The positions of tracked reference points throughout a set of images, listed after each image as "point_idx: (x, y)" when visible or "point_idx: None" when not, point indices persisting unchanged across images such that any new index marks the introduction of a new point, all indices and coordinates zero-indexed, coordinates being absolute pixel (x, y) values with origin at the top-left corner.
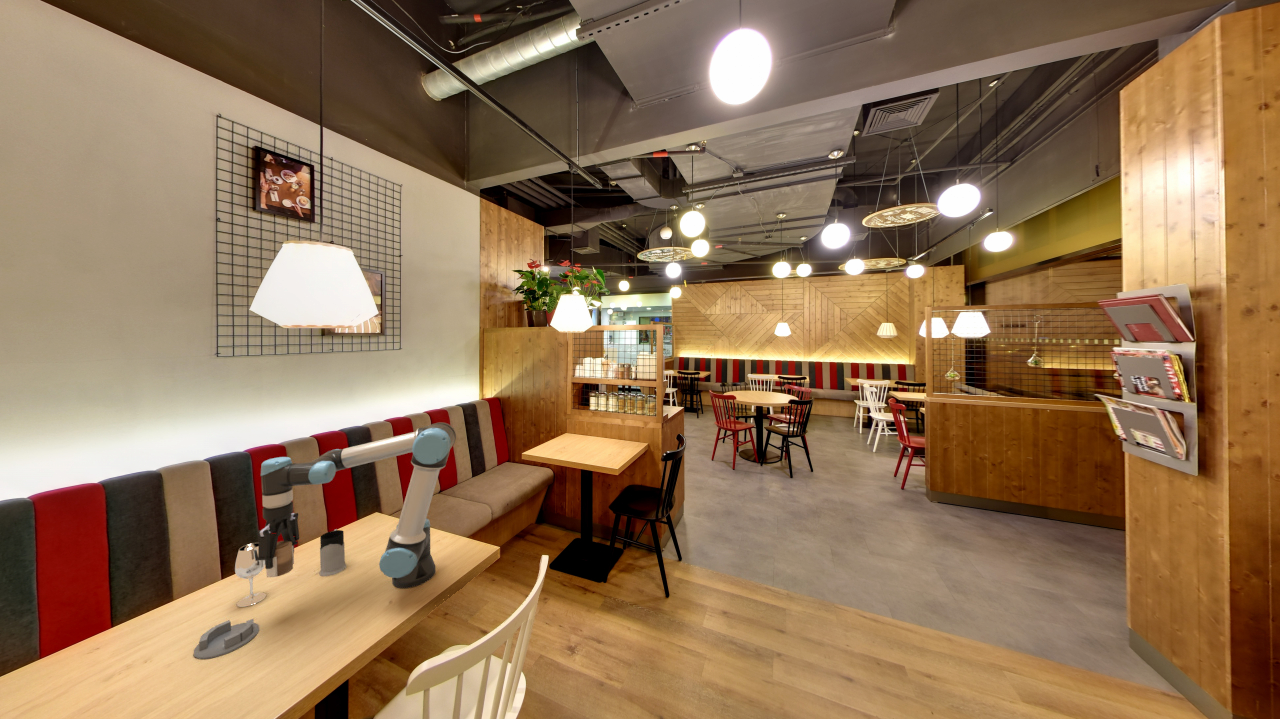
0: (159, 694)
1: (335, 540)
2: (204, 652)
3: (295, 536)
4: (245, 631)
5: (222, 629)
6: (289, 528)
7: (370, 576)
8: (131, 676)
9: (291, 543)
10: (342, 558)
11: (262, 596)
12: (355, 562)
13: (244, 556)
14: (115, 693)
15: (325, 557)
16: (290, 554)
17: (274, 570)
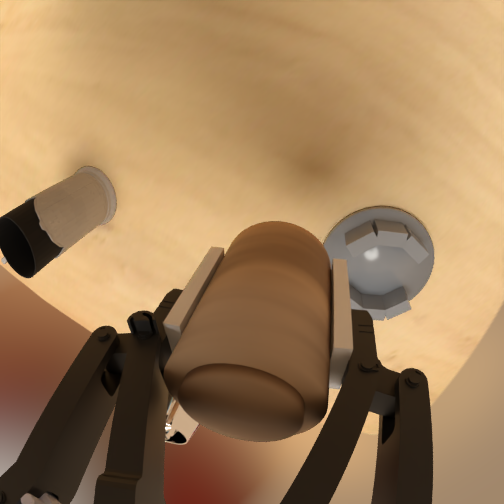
0: (497, 275)
1: (26, 219)
2: (416, 281)
3: (105, 362)
4: (397, 230)
5: (355, 296)
6: (122, 488)
7: (112, 57)
8: (426, 350)
9: (199, 348)
10: (65, 180)
11: None
12: (62, 159)
13: (195, 421)
14: (460, 340)
15: (77, 220)
16: (252, 282)
17: (348, 286)
